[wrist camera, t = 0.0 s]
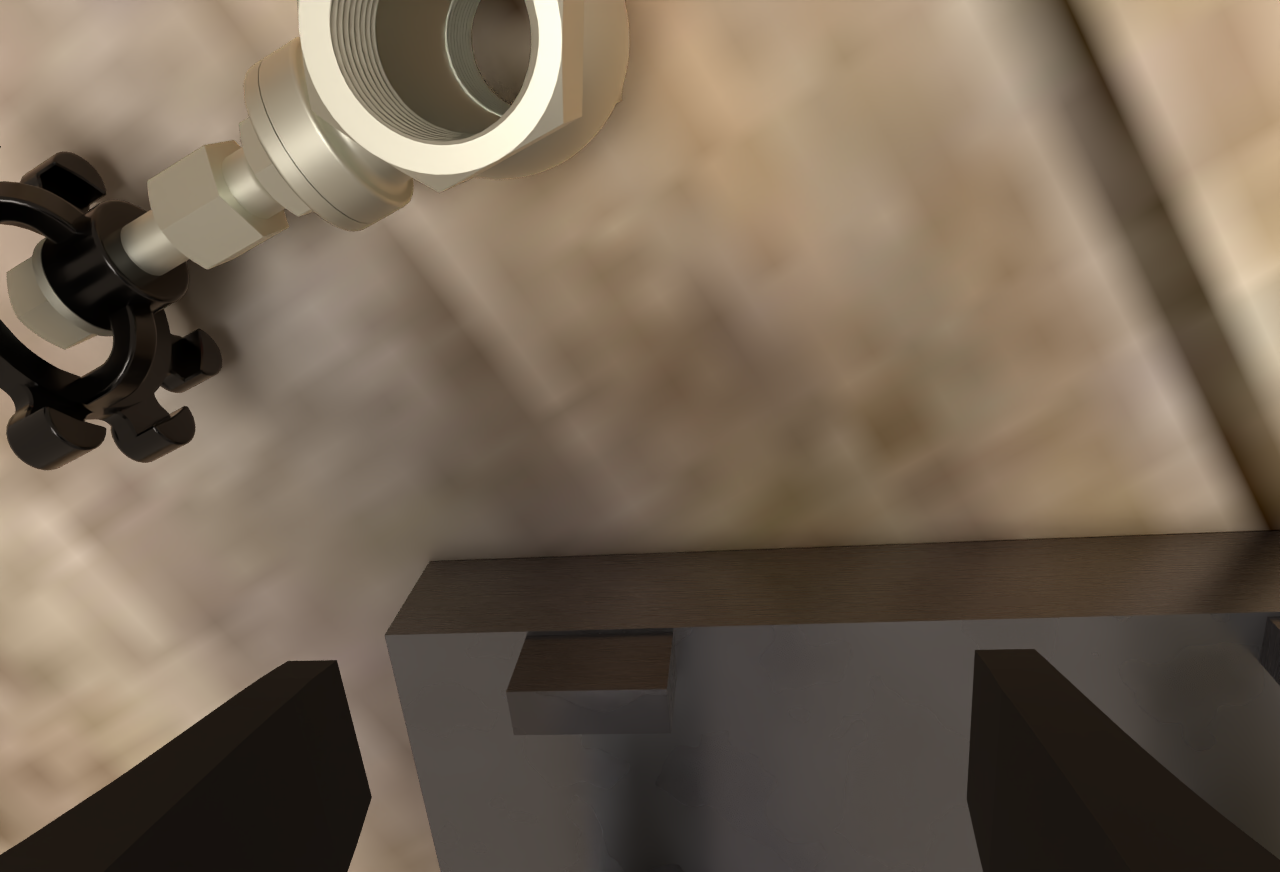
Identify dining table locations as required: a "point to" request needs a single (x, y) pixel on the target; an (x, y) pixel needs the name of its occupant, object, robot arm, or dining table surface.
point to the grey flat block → (813, 694)
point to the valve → (278, 194)
